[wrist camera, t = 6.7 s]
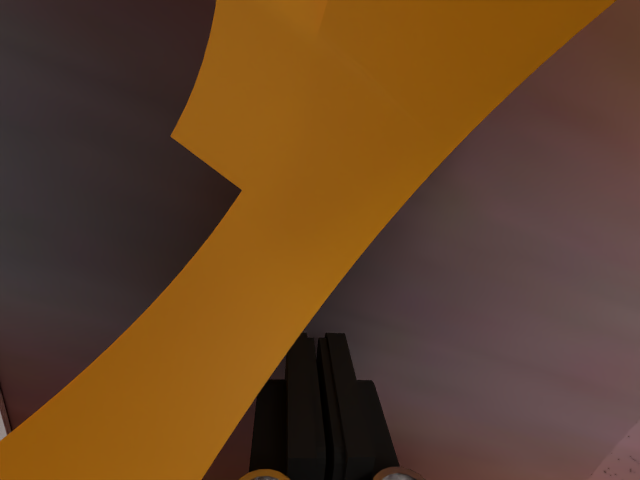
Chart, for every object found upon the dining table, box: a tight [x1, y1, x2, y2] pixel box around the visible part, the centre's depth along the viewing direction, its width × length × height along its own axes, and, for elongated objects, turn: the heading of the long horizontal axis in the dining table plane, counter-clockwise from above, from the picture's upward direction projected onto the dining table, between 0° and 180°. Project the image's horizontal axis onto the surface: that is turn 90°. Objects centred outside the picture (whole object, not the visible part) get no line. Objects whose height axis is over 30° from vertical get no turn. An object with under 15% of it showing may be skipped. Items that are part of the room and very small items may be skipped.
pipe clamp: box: [0, 0, 616, 480], centre depth 6 cm, size 12×4×6 cm, turn 146°
